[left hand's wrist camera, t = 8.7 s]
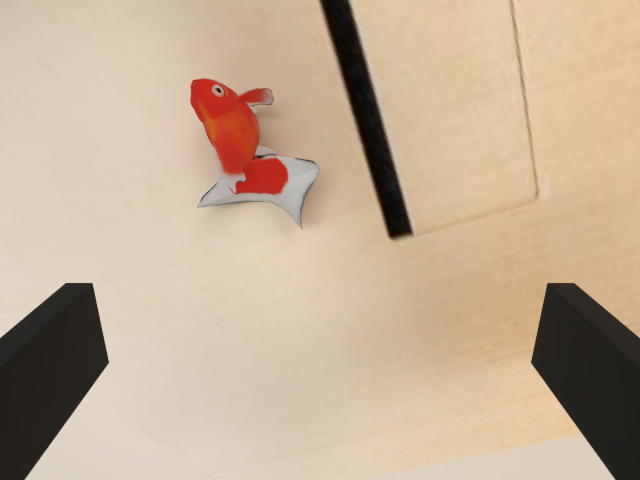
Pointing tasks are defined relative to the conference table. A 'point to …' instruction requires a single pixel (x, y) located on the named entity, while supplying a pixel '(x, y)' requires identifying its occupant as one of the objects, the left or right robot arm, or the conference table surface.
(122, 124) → the conference table surface
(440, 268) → the conference table surface
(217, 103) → the fish
